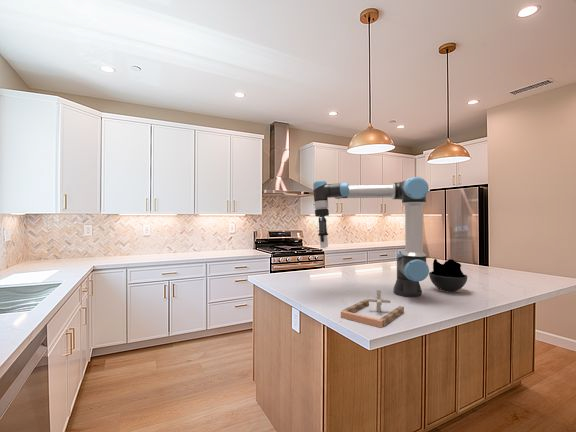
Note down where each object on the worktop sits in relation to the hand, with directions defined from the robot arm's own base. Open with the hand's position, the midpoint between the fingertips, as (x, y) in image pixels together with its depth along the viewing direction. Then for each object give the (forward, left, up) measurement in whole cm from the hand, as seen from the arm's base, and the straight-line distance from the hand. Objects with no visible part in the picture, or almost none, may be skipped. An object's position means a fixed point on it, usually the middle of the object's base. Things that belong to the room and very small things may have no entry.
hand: (324, 247), depth 161 cm
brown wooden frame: (-23, +25, -27) cm, 43 cm away
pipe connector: (-26, +20, -27) cm, 43 cm away
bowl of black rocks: (-72, -26, -27) cm, 81 cm away
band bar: (-17, +36, -27) cm, 48 cm away
